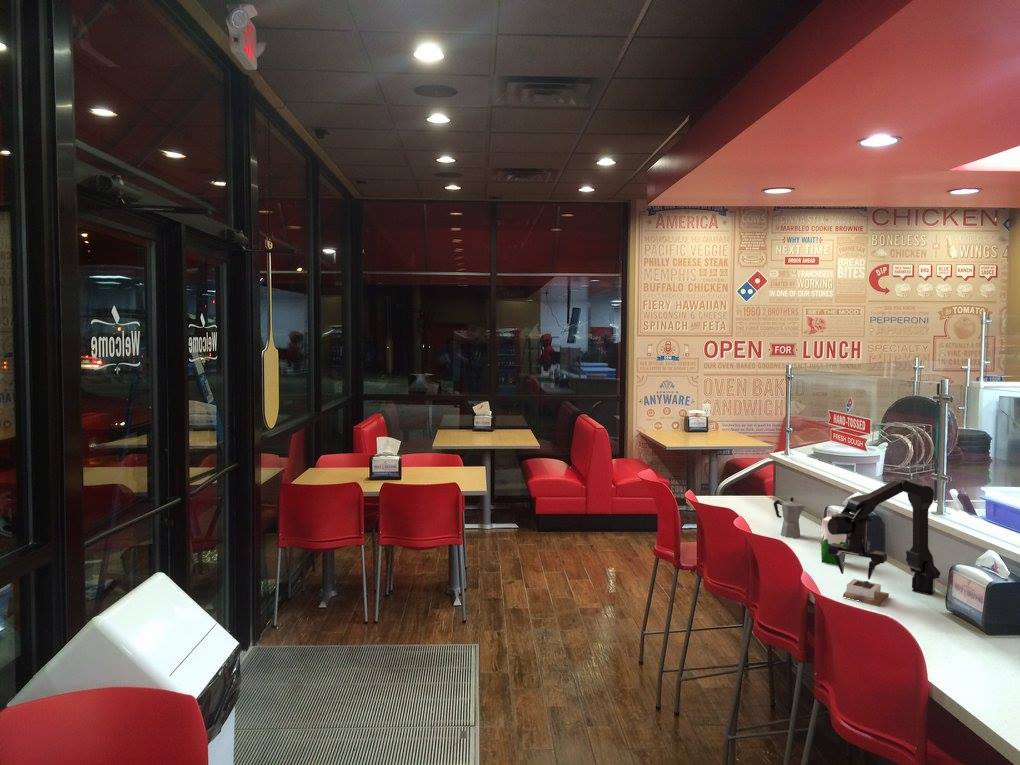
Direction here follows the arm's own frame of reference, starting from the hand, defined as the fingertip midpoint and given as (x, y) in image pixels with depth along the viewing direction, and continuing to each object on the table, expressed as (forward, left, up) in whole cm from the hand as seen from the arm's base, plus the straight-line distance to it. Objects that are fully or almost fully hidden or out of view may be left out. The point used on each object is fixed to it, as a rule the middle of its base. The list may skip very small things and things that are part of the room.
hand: (855, 576), depth 260 cm
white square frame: (-3, 0, -5) cm, 6 cm away
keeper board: (-4, 0, -7) cm, 8 cm away
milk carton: (+18, -36, -7) cm, 41 cm away
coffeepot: (+47, -66, -7) cm, 81 cm away
